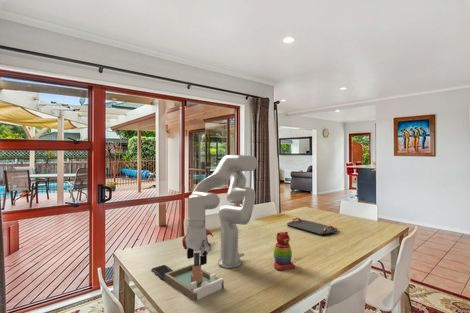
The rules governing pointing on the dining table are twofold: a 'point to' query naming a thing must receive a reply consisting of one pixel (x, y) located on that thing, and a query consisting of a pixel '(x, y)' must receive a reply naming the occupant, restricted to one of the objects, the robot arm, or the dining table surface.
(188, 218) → the robot arm
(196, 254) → the kicker
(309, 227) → the serving board
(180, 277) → the pitch
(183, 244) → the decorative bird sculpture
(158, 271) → the phone
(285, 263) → the stacking bear
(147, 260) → the dining table surface
